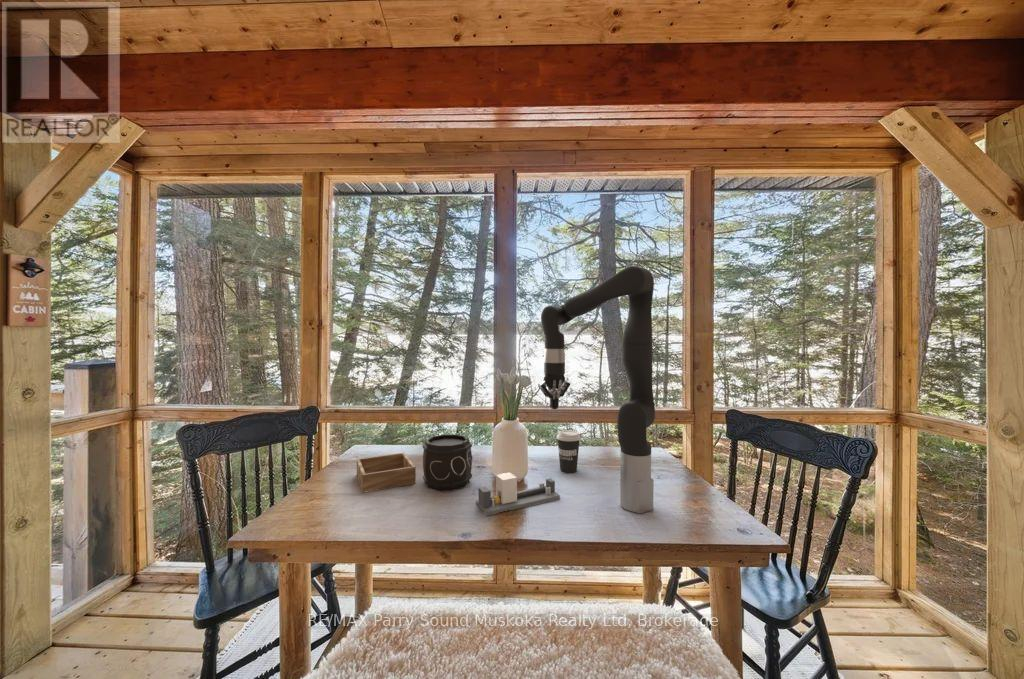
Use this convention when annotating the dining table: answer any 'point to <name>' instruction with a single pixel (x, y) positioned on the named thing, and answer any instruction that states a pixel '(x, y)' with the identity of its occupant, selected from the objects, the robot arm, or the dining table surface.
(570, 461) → the coffee cup
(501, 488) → the sleeve
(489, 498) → the gray slide rail base
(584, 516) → the dining table surface
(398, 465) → the box
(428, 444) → the black canister
